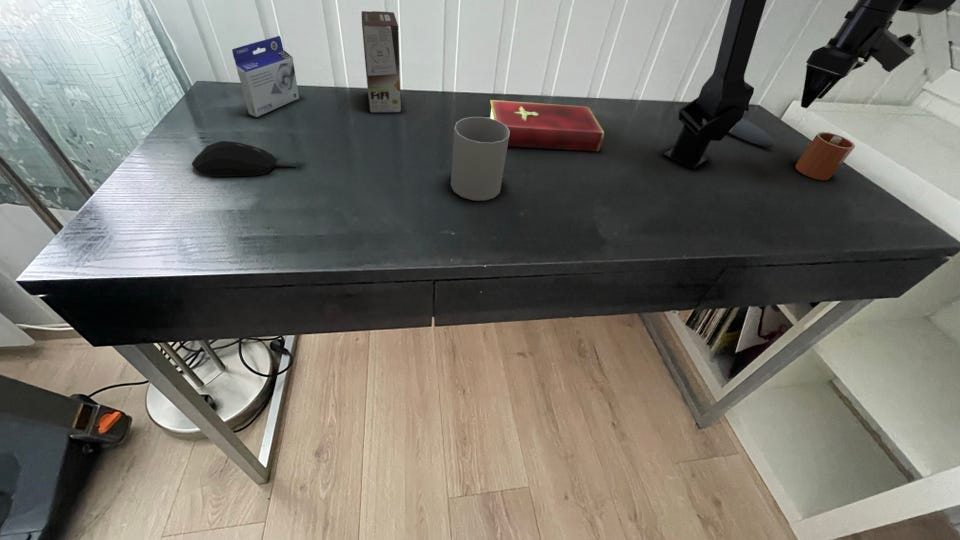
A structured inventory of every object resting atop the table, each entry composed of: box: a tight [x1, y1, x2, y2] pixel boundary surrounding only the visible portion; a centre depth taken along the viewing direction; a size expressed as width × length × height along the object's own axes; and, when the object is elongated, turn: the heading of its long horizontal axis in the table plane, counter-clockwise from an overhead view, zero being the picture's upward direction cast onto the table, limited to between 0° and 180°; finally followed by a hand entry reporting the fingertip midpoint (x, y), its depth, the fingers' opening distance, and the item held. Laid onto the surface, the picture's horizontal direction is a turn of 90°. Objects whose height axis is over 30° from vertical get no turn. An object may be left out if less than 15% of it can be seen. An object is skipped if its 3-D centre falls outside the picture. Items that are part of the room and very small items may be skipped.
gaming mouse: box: [191, 140, 297, 177], centre depth 66 cm, size 6×15×4 cm, turn 99°
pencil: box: [829, 135, 842, 146], centre depth 84 cm, size 2×2×7 cm
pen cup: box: [794, 131, 856, 181], centre depth 84 cm, size 7×7×7 cm
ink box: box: [231, 35, 300, 118], centre depth 78 cm, size 12×2×12 cm, turn 155°
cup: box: [450, 116, 510, 201], centre depth 66 cm, size 8×8×10 cm
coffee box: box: [361, 10, 402, 113], centre depth 83 cm, size 9×6×16 cm
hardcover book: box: [487, 99, 605, 152], centre depth 84 cm, size 12×21×4 cm, turn 95°
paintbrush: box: [703, 118, 776, 148], centre depth 95 cm, size 20×5×5 cm, turn 48°
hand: (811, 102), depth 79 cm, fingers open, 9 cm apart
